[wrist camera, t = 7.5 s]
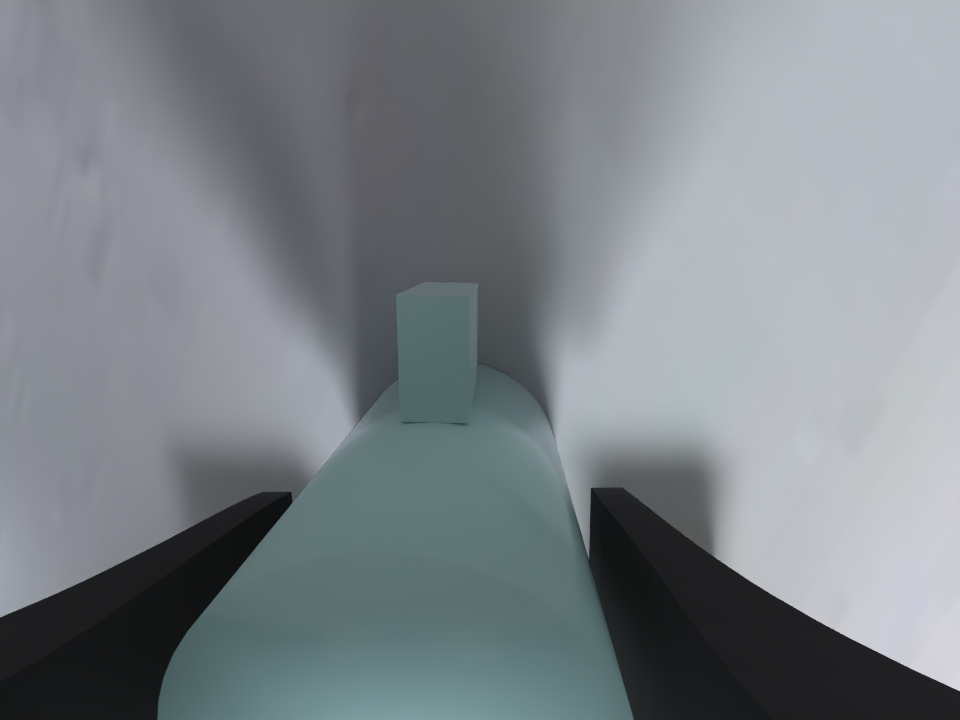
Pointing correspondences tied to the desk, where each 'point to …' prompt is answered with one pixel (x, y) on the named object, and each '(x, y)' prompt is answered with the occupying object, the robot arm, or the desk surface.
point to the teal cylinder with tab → (416, 564)
